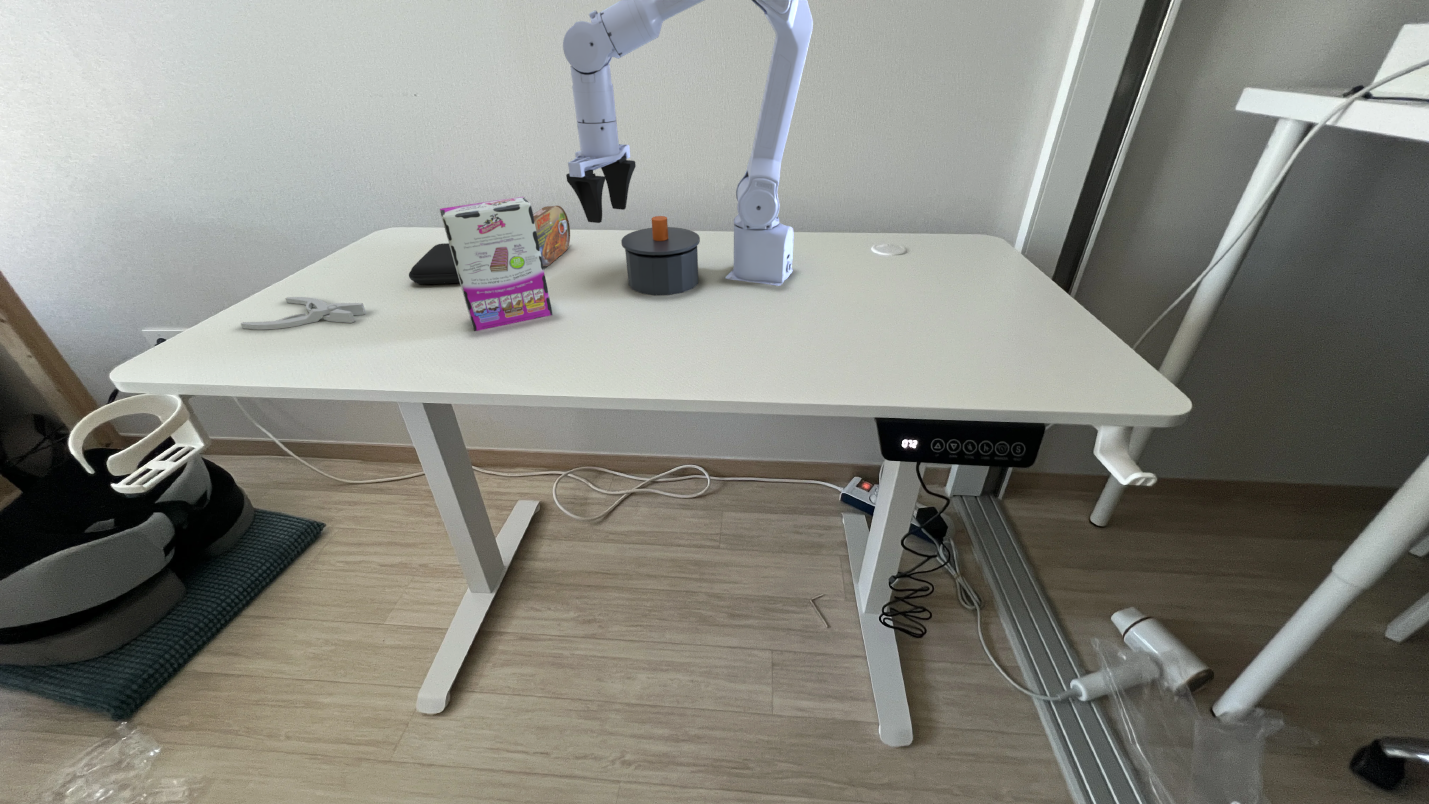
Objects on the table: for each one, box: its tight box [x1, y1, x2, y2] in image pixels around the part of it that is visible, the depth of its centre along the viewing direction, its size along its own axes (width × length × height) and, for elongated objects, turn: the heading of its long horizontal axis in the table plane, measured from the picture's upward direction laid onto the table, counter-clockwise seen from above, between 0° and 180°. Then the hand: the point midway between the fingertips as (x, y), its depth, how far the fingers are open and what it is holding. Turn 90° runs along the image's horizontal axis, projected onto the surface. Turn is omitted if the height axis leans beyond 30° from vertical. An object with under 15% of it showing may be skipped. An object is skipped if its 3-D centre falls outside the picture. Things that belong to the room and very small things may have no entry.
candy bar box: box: [439, 196, 554, 332], centre depth 81 cm, size 11×5×16 cm, turn 117°
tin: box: [533, 205, 571, 267], centre depth 104 cm, size 15×3×8 cm, turn 168°
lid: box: [620, 215, 701, 255], centre depth 91 cm, size 12×12×4 cm
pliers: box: [240, 296, 367, 331], centre depth 87 cm, size 10×2×15 cm
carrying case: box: [408, 242, 460, 285], centre depth 101 cm, size 11×3×15 cm
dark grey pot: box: [624, 245, 699, 296], centre depth 94 cm, size 11×11×6 cm
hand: (607, 215), depth 93 cm, fingers open, 7 cm apart
